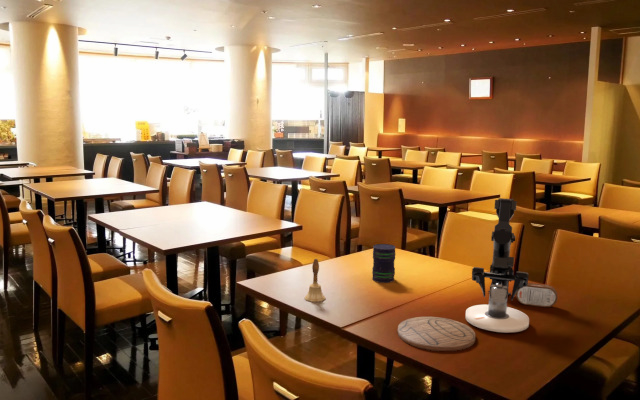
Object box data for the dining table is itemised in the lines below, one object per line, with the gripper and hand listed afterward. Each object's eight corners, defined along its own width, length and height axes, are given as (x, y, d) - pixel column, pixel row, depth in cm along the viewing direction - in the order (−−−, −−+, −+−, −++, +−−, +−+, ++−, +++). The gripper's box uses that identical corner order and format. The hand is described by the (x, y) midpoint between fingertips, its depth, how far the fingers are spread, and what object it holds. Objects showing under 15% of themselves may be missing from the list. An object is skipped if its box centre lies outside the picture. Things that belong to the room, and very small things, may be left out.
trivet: (425, 358, 158) (426, 352, 158) (383, 327, 181) (383, 322, 181) (491, 345, 168) (492, 339, 168) (443, 317, 191) (444, 312, 190)
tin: (556, 306, 203) (558, 285, 201) (557, 309, 200) (558, 287, 198) (514, 301, 207) (516, 281, 206) (514, 304, 204) (516, 283, 203)
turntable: (498, 306, 199) (498, 301, 198) (542, 326, 180) (542, 320, 180) (453, 314, 190) (453, 309, 190) (494, 336, 171) (495, 330, 171)
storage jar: (398, 278, 235) (399, 245, 233) (388, 284, 227) (389, 250, 225) (378, 274, 241) (379, 242, 238) (368, 280, 232) (369, 247, 230)
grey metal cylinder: (499, 310, 188) (502, 280, 187) (509, 317, 183) (511, 286, 181) (484, 312, 187) (486, 281, 185) (494, 318, 181) (496, 287, 179)
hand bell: (307, 294, 213) (307, 255, 211) (327, 295, 211) (327, 257, 209) (302, 301, 205) (302, 261, 203) (323, 302, 203) (323, 262, 201)
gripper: (473, 245, 188) (469, 283, 179) (530, 250, 182) (528, 290, 173) (474, 260, 196) (470, 298, 188) (528, 266, 190) (526, 305, 182)
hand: (498, 298), depth 182 cm, fingers open, 9 cm apart
